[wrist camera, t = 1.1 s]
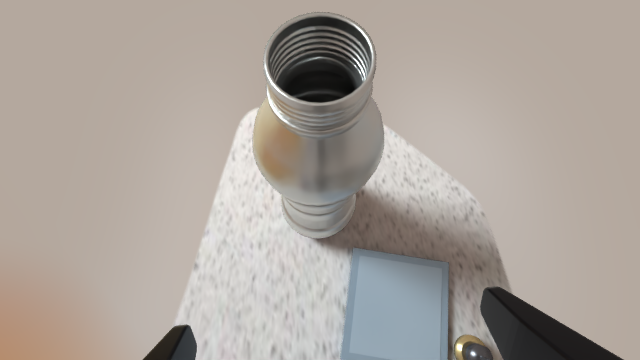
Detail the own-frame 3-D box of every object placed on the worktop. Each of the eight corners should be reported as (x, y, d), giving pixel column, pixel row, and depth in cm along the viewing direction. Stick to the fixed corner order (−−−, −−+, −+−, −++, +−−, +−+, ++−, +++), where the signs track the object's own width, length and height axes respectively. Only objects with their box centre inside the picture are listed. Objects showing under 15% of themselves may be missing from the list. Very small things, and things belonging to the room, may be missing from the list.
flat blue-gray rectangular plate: (443, 375, 24) (447, 378, 23) (340, 357, 24) (340, 359, 23) (445, 263, 27) (449, 262, 26) (352, 248, 27) (353, 247, 26)
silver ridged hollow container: (361, 186, 29) (445, 7, 10) (338, 253, 27) (389, 186, 8) (299, 164, 30) (269, -42, 11) (273, 228, 27) (174, 111, 9)
